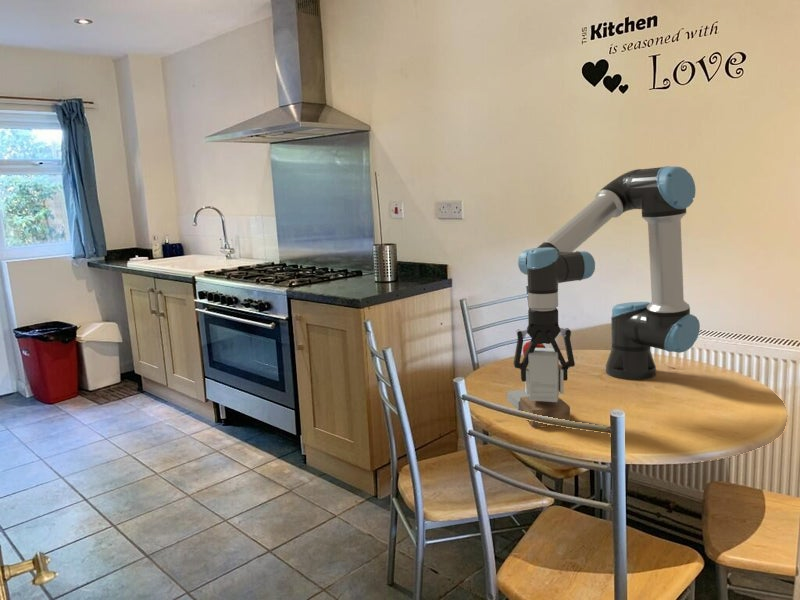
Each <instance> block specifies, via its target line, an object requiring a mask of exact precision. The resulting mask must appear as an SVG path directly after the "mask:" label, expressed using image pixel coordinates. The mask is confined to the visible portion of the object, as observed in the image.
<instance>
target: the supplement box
mask: <svg viewBox="0 0 800 600" xmlns="http://www.w3.org/2000/svg"><path fill="white" fill-rule="evenodd" d="M528 360H529V363H528V369H529V399H530V401H546V402H557V401H558V397H559V395H560V392H559V367H560V365H559V364H560V363H559V362H560V361H559V359H558V353H557V352H555V350H554V349H553V347H550V348H549V347H546V348H535V350H534V352H533V353H529V354H528Z"/></svg>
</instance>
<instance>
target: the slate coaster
mask: <svg viewBox="0 0 800 600" xmlns="http://www.w3.org/2000/svg"><path fill="white" fill-rule="evenodd" d="M520 397H529V394H526V392H525V388H524V389H516V390H508V391H506V401H507V402H509V403H510V404H511V405H512V406H513V407H514V408H515V409H517V410H518V411H520Z"/></svg>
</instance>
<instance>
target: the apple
mask: <svg viewBox="0 0 800 600" xmlns="http://www.w3.org/2000/svg"><path fill="white" fill-rule="evenodd" d="M530 341H531V340H529V341H527V342H525V343H524V345H523V346H522V354H523V357H524V356H525V354H526V351H527V349H528V347H529V345H530ZM536 348H547V347H546V346H545V344H544V343H543V344H537V346H536Z"/></svg>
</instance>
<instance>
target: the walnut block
mask: <svg viewBox="0 0 800 600" xmlns="http://www.w3.org/2000/svg"><path fill="white" fill-rule="evenodd" d="M520 410H521V411H525V412H529V413H533V414H537V415H542V416H548V417H553V418H558V419H565V420H570V421H571V406H570V405H569V404H567V403H566V402H565V401H564V400H563V399H562V398H560V397H559V396H558V401H557V402H546V401H530V399H529V397H520ZM520 410H519V411H520ZM525 421H526V422H527V421H528V422H529V423H528V422H527V423H528V424H529V425H530V427H531V428H532V427H536V428H542V427H541V426H546V427H552V426H551V425H547V424H543V423H538V422H535V421H529V420H525Z"/></svg>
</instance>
